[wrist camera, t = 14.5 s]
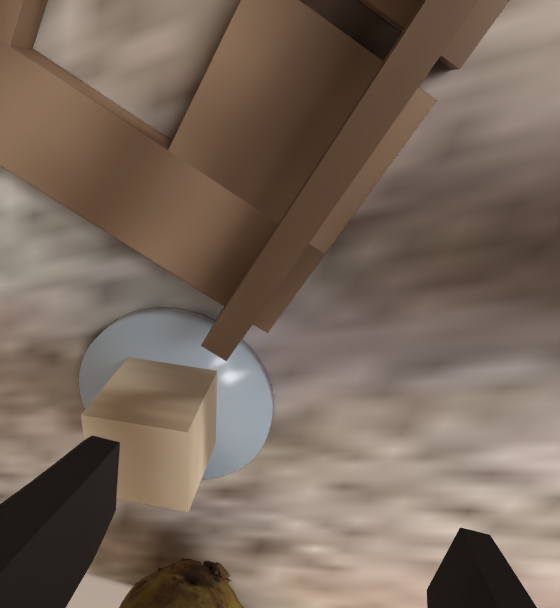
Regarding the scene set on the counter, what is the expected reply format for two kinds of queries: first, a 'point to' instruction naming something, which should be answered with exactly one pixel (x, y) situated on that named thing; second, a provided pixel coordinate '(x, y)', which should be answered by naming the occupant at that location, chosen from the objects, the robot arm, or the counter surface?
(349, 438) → the counter surface
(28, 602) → the robot arm
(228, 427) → the saucer
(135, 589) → the potato
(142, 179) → the board
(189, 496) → the block
